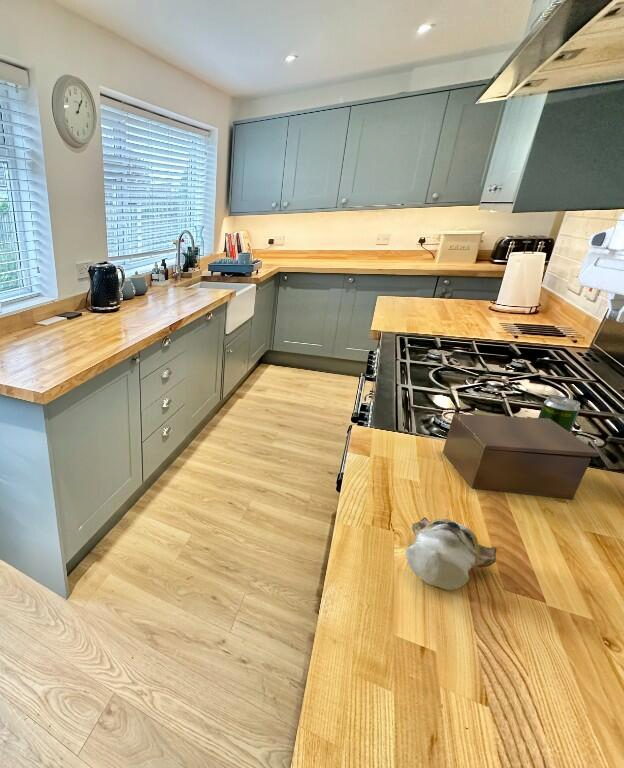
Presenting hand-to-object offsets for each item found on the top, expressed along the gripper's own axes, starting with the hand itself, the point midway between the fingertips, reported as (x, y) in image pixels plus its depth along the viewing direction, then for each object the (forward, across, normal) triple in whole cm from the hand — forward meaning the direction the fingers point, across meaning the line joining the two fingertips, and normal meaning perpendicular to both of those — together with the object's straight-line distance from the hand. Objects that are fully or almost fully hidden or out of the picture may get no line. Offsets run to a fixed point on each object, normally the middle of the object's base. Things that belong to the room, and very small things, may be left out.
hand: (617, 320), depth 73 cm
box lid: (+22, -4, +11) cm, 25 cm away
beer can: (+31, +8, -2) cm, 32 cm away
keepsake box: (+31, -4, +11) cm, 33 cm away
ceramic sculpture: (+31, -34, +32) cm, 56 cm away
